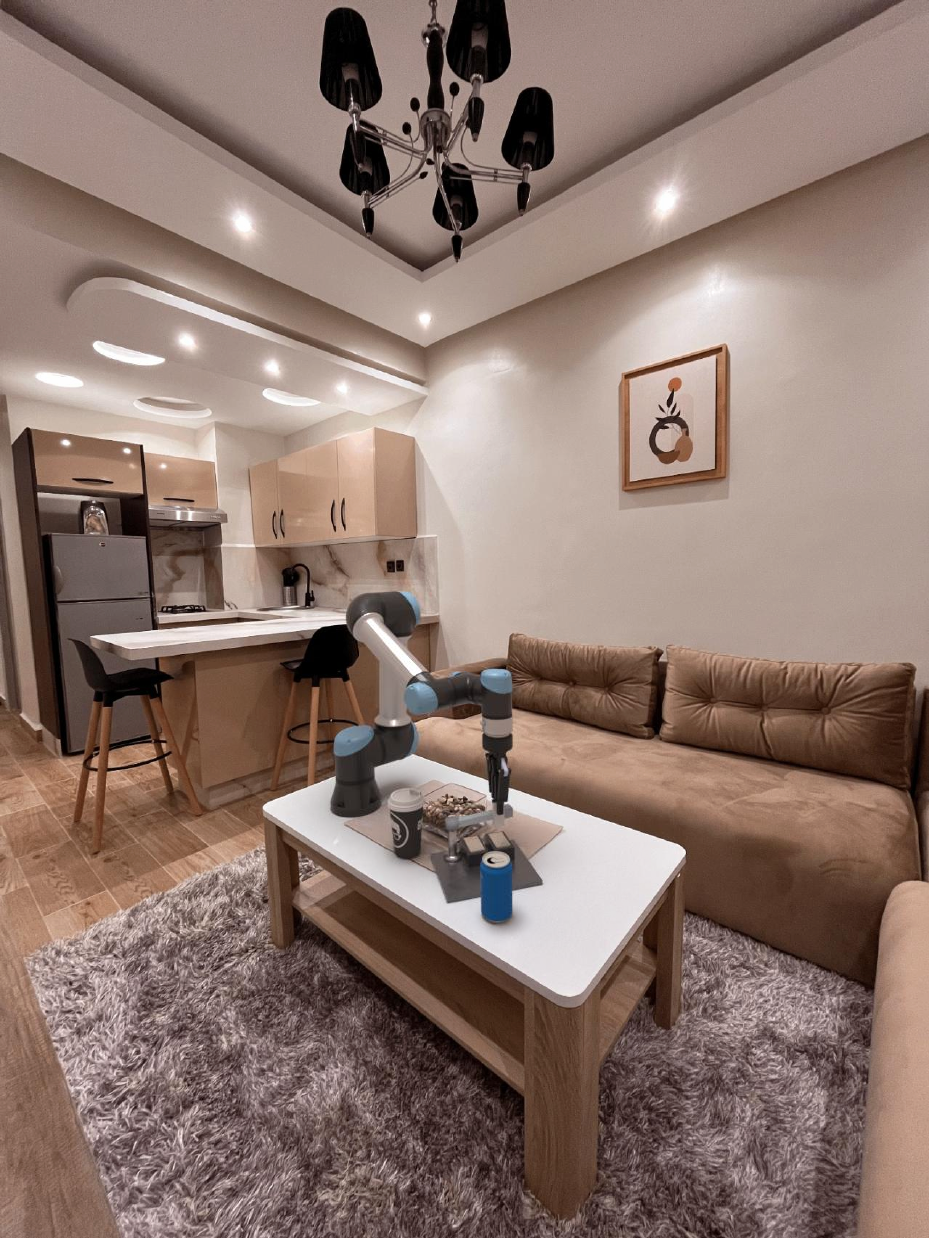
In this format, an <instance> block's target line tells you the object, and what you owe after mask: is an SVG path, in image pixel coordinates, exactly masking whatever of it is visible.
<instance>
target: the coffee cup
mask: <svg viewBox="0 0 929 1238" xmlns="http://www.w3.org/2000/svg"><path fill="white" fill-rule="evenodd" d="M425 799H426V798H425V797H424V795H423V793H422V791H421V790H419V789H416V788H411V787H410V788H409V787H407V788H399V789H397V790H394V791H393V792H391V793H390V795H389V798H388V799H387V803H386V805H387V808H388V809H389V815H390V816H389V817H390V822H391V823H390V826H391V830H392V831H391V832H392V839H393V840H392V842H393V848H394V850H393V851H394V855H395V857H396V858H398V859H401V860H411V859H414V858H417V857H418V856H419V855H420V854H421V851H422V837H423V819H424V818H423V817H424V807H425V805H426V800H425Z"/></svg>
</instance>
